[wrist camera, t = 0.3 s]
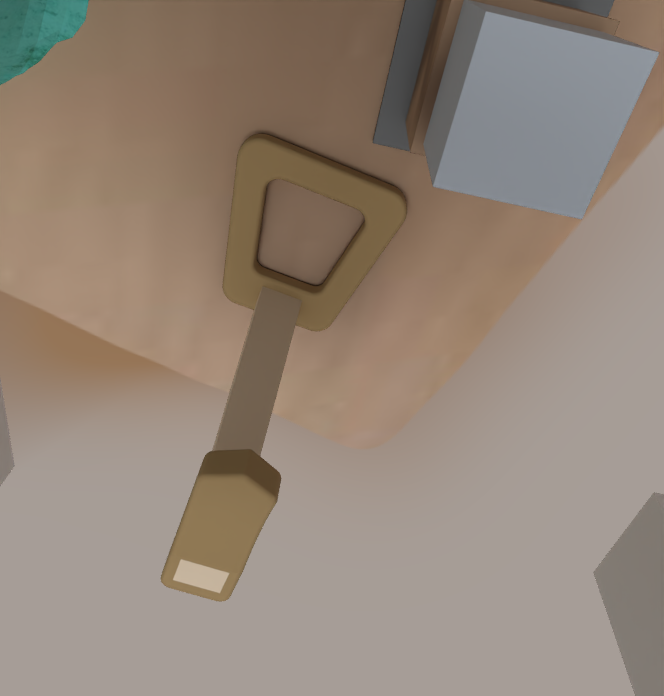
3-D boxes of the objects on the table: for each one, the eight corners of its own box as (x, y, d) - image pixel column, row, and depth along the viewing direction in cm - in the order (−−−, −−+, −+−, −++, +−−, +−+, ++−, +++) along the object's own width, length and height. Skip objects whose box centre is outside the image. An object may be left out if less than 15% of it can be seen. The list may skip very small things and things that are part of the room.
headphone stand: (413, 193, 36) (449, 446, 17) (346, 333, 42) (319, 631, 23) (248, 125, 34) (98, 326, 16) (202, 281, 40) (55, 558, 22)
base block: (442, -24, 29) (456, -19, 24) (579, 9, 29) (620, 21, 24) (405, 122, 33) (410, 152, 28) (525, 149, 33) (551, 183, 28)
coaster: (421, -68, 28) (421, -68, 28) (618, -20, 29) (621, -19, 29) (372, 140, 34) (372, 143, 34) (538, 177, 35) (540, 180, 34)
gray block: (464, -2, 24) (485, 11, 19) (602, 31, 25) (659, 52, 20) (423, 144, 28) (433, 186, 23) (545, 171, 28) (581, 219, 23)
